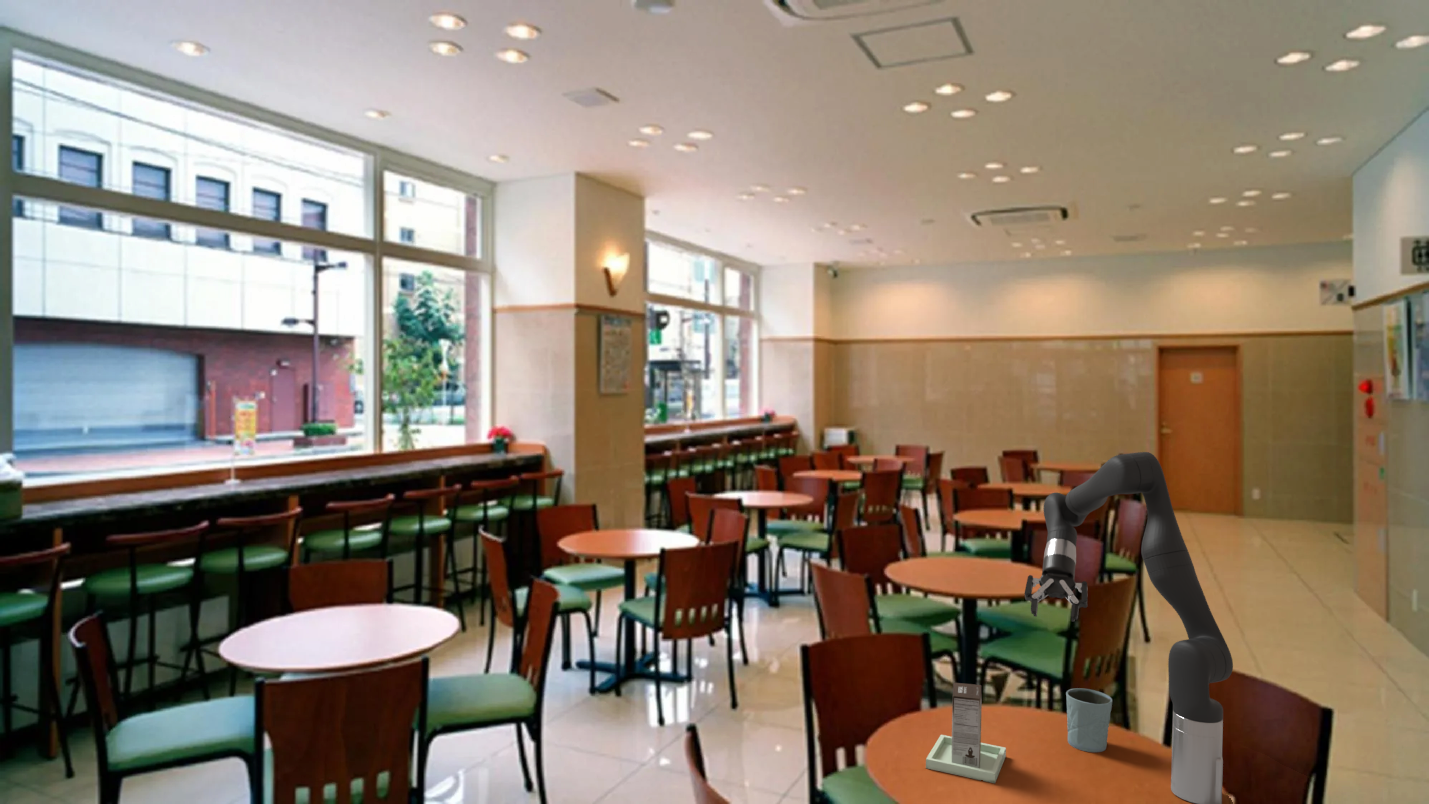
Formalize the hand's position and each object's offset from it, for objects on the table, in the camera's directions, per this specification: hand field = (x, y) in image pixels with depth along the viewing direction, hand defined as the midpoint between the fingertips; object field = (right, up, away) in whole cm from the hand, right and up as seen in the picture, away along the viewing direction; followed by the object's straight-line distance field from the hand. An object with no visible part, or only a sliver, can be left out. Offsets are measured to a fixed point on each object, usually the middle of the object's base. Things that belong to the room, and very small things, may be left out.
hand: (1053, 617), depth 204 cm
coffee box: (-24, -30, -10) cm, 40 cm away
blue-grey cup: (+8, -31, 0) cm, 32 cm away
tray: (-24, -31, -10) cm, 40 cm away
